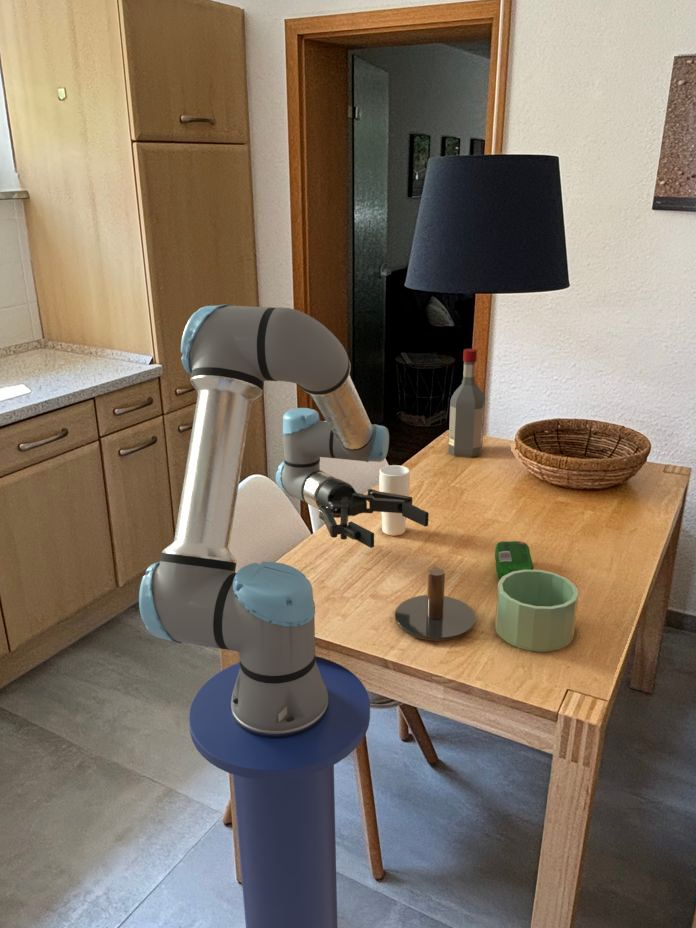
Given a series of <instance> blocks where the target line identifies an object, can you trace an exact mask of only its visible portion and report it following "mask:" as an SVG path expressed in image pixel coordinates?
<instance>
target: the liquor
mask: <svg viewBox="0 0 696 928" xmlns="http://www.w3.org/2000/svg"><path fill="white" fill-rule="evenodd" d="M477 352H478V350H477V349H475V348H465V349H463V354H462V356H463V357H462V361H463V372H462V374H463V375H462V376H463V377H462V380H461V384H460V385H459V386H458V387H457V388H456V389H455V390H454V392H453V394H452V395H451V398H450V401H449V402H450V403H449V422H448V423H449V424H448V425H449V427H448V447H447V449H448V453H449V454H450V455H451V456H454V457H461V458H462V457H463V458H474V457H475V458H476V457H479V456H480V455H481V453H482V449H483V440H484V423H485V405H486V397H485V393H484V392H483V391H482V389H481V388H480V387H479V386H478V385H477V383H476V378H475V377H476V362H477V355H478V353H477Z"/></svg>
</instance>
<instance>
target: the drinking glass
mask: <svg viewBox="0 0 696 928" xmlns="http://www.w3.org/2000/svg"><path fill="white" fill-rule="evenodd" d="M410 477H411V475H410V469H409V468H408V467H406V466H403V465H399V464H398V465H397V464H392V465H391V464H389V465H385V466H383V467H381V468H380V469H379V476H378V489H379V490H378V491H379V492H385V493H391V494H397V495H403V496H409V497H410V488H411V487H410V484H411V482H410V481H411V479H410ZM380 514H381V531H382V532H383V533H384V534H386V535H388V536H393V537H395V536H400V535H403V534H404V533H405V532H406V529H407V528H406V527H407V526H406V525H407V524H406V523H407V518H406V517H404V516H402V513H391V512H380Z"/></svg>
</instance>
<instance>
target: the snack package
mask: <svg viewBox="0 0 696 928" xmlns="http://www.w3.org/2000/svg"><path fill="white" fill-rule="evenodd" d="M494 559H495V570H496V576H497V580H498V582H499V581H500V579H501V578H502V577H503V576H505V575H507V574H509V573H510V572H513V571H519V570H535V568H534V563H533V559H532V555H531V551H530V547H529V545H528V543H526V542H524V541H521V540H519V541H518V540H514V541H513V540H512V541H509V540H508V541H498V542H497V543H496V545H495V548H494Z"/></svg>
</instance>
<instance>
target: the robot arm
mask: <svg viewBox="0 0 696 928" xmlns="http://www.w3.org/2000/svg"><path fill="white" fill-rule="evenodd" d="M183 329H184V330H183V333H182V336H181V341H180V342H181V343H180V353H181V354H182V356H181V364H182V366H183V369H184V370H185V371H186V373H187V374H189V375H190V384H191V385H192V387H193V388H194V390H195V392H196V393H197V398H196V402H195V403H196V404H195V411H194V416H193V422H192V427H191V435H190V439H189V447H188V453H187V458H186V465H185V472H184V478H183V483H182V490H181V494H180V502H179V507H178V514H177V519H176V520H177V521H176V526H175V530H174V531H175V532H174V537H173V538H174V539H173V541H172V542H171V544H169V545H168V546H167V547H165V548H163V550H162V551H161V556H160V561H157V562H154V563H152V564H150V565H149V566H148V567H147V569H146V570H145V574H144V575H143V576H142V578H141V582H140V585H139V593H138V607H139V615H140V618H141V621H142V622H143V624H144V626H145V627H144V628H146V630H147V631H148V632H149V634H151V635H152V636H153V637H155V638H157V639H162V640H167V641H170V642H172V643H174V644H188V645H189V644H190V645H195V646H202V647H209V648H213V649H214V648H215V649H220V650H227V651H233V652H237V653H238V656H239V662H240V670H239V673H238V676H237V680H236V682H235V686H234V690H233V693H232V699H231V709H232V716H233V719H234V720H235V722H236V723H237V724H238V726H239V727H241V728H242V729H243V730H245V731H247V732H248V733H251V734H253V735H256V736H260V737H266V738H285V737H291V736H295V735H299V734H301V733H304V732H306V731H308V730H310V729H312V728H313V727H315V726H316V725H317V724H318V723H320V721H321V720H322V719H323V718H324V717H325V715H326V713H327V710H328V692H327V688H326V685H325V683H324V681H323V679H322V677H321V674H320V671H319V669H318V666H317V664H316V660H315V656H316V626H315V625H316V624H315V622H316V621H315V619H316V618H315V615H316V605H315V600H314V591H313V586H312V584H311V581H310V580H309V579H308V578H307V576H306V575H305V574H304V572H302V571H301V570H300V569H298V568H296V567H294V566H291V565H288V564H285V563H282V562H277V561H262V562H261V563H258V562H253V563H248V564H247V565H244V566H243V567H241V568H240V569H239V570H238V571H237V572H236V570H237V569H236V568H237V564H238V563H237V562H238V560H237V559H236V558H235V556H234V555H233V553H232V552H231V550H230V545H231V544H230V543H231V537H232V531H233V525H234V519H235V518H234V517H235V511H236V505H237V498H238V493H239V487H240V486H239V485H240V480H241V479H240V478H241V472H242V468H243V467H242V465H243V459H244V455H245V454H244V453H245V447H246V440H247V432H248V426H249V420H250V413H251V407H252V403H253V402H254V401H255V400H257V399H258V398H260V397H262V395H263V392H264V391H263V390H264V385H265V382H266V381H268V382H286V383H287V382H288V383H291V384H297V385H298V387H299V388H300V390H302V391H304V392H305V393H307V394H309V395H310V396H311V397H312V399H313V401H314V402H315V404H316V406H317V408H318V409H319V411H320V413H321V414H322V416H323V418H324V420H321V419H320V415H319V412H318V411H317V410H315V409H313V408H310V407H297V408H291V409H289V410H287V411H286V412H284V414H283V417H282V434H281V435H282V440H283V441H282V444H283V459H284V460H283V461H282V462H280V463H279V465H278V467H277V470H276V472H275V483H276V484H277V486H278V488H279V489H281V490H282V491H283V492H284V493H286V494H287V495H288V496H290V497H293V498H296V499H297V500H300V501H301V502H304V503H306V505H307V504H308V505H309V506H311V507H313V508H315V509H317V510H318V518H319V519H320V520H322V521H323V522H324V525H325V526H326V529H327V531H328V533H329V536H330V537H331V538H337V537H338V535H340V540H343V541H344V540H348V538H349V539H351V540H354V541H357V542H359V543H361V544H362V545H365V546H367V547H368V548H370V549H372V548H374V547H375V532H373V531H371V530H369V529H367V528H365V527H363V526H361V525H359V524H357V523H355V522H353V521H349V517H355V516H358V515H360V514H373V513H374V512H375V513H376V512H378V513H381V512H391V513H402V516H404V517H406V519H408V520H411V521H412V522H415V523H416V524H418V525H421V526H423V527H429V513H430V512H428V511H426V510H425V509H421V508H420V507H418V506H417V505H413V497H412V496H410V495H409V496H403V495H397V494H391V493H385V492H380V491H379V490H376V489H373V488H368V489H367V493H365V494H363V493H361V492H360V493H359V492H357V491H356V490H355V488H354V487H353V486H352V485H351V484H350V483H349V482H346V481H345V480H342V479H340V478H338V477H336V476H334V475H331V474H329V473H327V472H324V471H323V470H321V466H320V464H321V463H320V462H321V458H326V459H338V460H346V461H356V462H365V463H369V462H370V463H371V462H372V463H373V462H374V463H382V462H383V461H385V459H386V458H387V455H388V451H389V448H390V447H389V445H390V433H389V429H388V428H387V426H384V425H379V424H377V423H374V424H372V422H371V421H370V418H369V416H368V414H367V411H366V409H365V407H364V405H363V403H362V400H361V398H360V396H359V393H358V391H357V389H356V387H355V384H354V382H353V380H352V378H351V376H350V375H351V373H350V372H351V362H350V359H349V356H348V353H347V351H346V349H345V347H344V345H343V344H342V343H341V341H339V339H338V338H337V337H336V336H335V335H334V333H333V332H332V331H331V330H329V329H328V328H327V327H326V326H325V325H324V324H322V323H321V322H320V321H318V320H317V319H315V318H314V317H312V316H310V315H309V314H307V313H305V312H302V311H301V310H297V309H294V308H291V307H283V306H282V307H281V306H279V307H271V306H248V305H232V304H231V305H230V304H226V303H225V304H219V305H205V306H202V307H200V308H199V309H198V310H196V311H195V312H193V314H191V316H190V317H189V319H188V320H187V323H186V324H185V326H184V328H183ZM368 504H369V507H368ZM336 519H340V520H339V521H340V522H339V523H340V524H338V523H337V522H336Z"/></svg>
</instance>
